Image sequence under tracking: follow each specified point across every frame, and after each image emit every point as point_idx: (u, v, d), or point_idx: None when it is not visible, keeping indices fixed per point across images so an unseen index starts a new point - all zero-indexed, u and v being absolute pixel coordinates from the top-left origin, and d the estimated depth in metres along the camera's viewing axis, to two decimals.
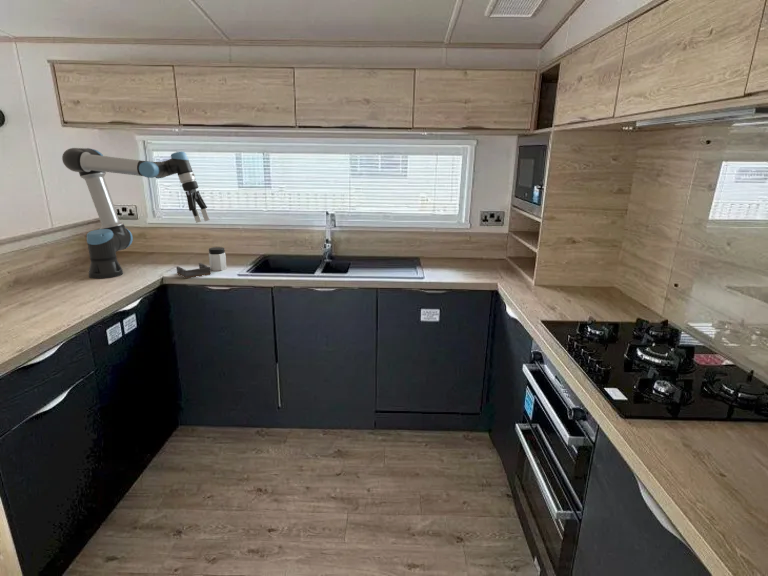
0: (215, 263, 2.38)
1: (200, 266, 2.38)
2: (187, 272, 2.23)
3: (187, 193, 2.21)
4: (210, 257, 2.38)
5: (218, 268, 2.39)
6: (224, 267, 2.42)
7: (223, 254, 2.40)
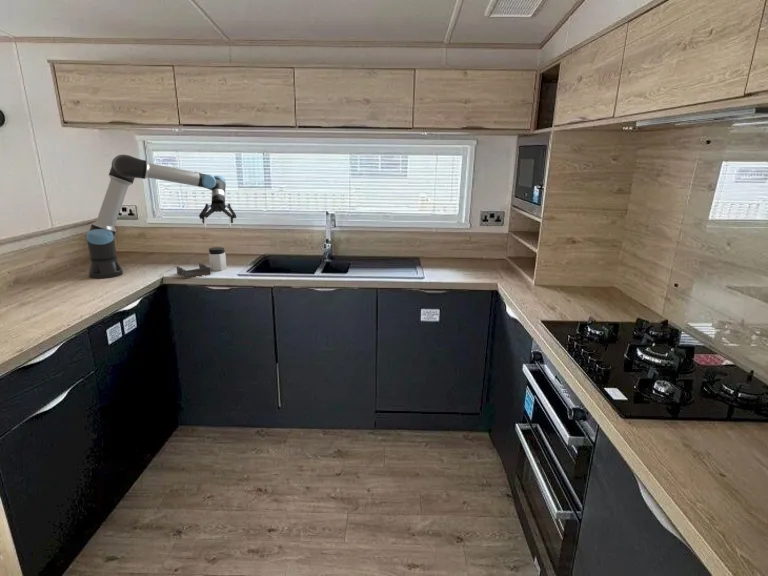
0: (215, 263, 2.38)
1: (200, 266, 2.38)
2: (187, 272, 2.23)
3: None
4: (210, 257, 2.38)
5: (218, 268, 2.39)
6: (224, 267, 2.42)
7: (223, 254, 2.40)
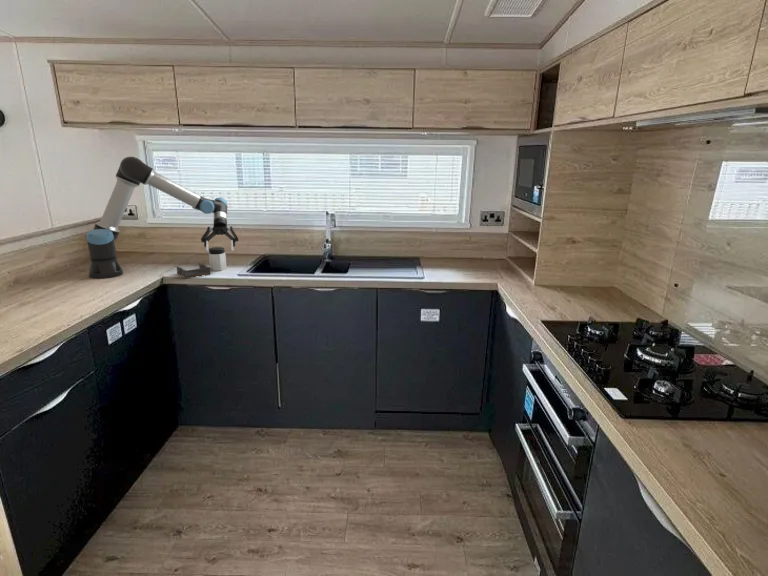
0: (215, 263, 2.38)
1: (200, 266, 2.38)
2: (187, 272, 2.23)
3: (232, 228, 2.53)
4: (210, 257, 2.38)
5: (218, 268, 2.39)
6: (224, 267, 2.42)
7: (223, 254, 2.40)
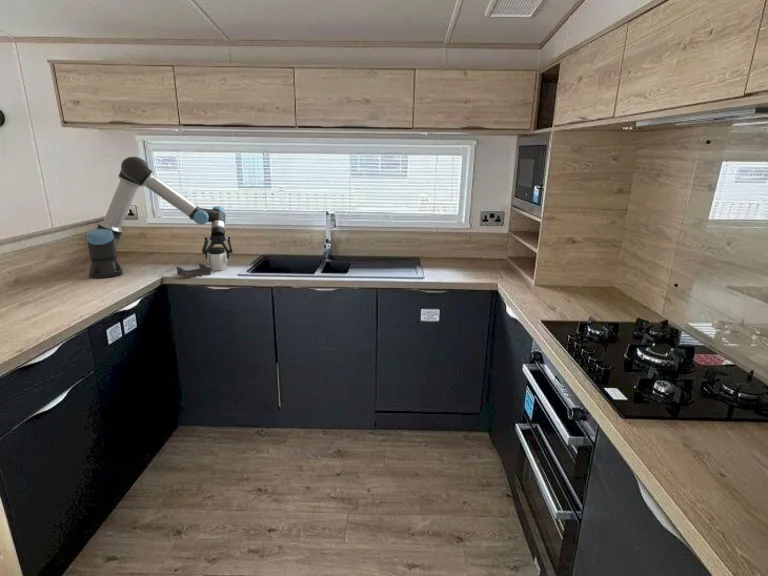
0: (215, 263, 2.38)
1: (200, 266, 2.38)
2: (187, 272, 2.23)
3: (230, 239, 2.48)
4: (210, 257, 2.38)
5: (218, 268, 2.39)
6: (224, 267, 2.42)
7: (223, 254, 2.40)
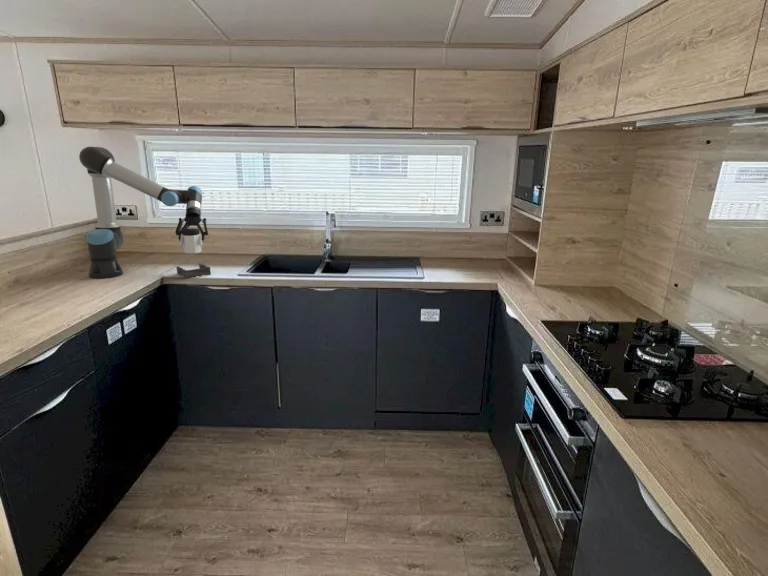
0: (189, 245, 2.25)
1: (200, 266, 2.38)
2: (187, 272, 2.23)
3: (205, 220, 2.34)
4: (183, 239, 2.25)
5: (192, 250, 2.26)
6: (199, 250, 2.29)
7: (197, 236, 2.27)
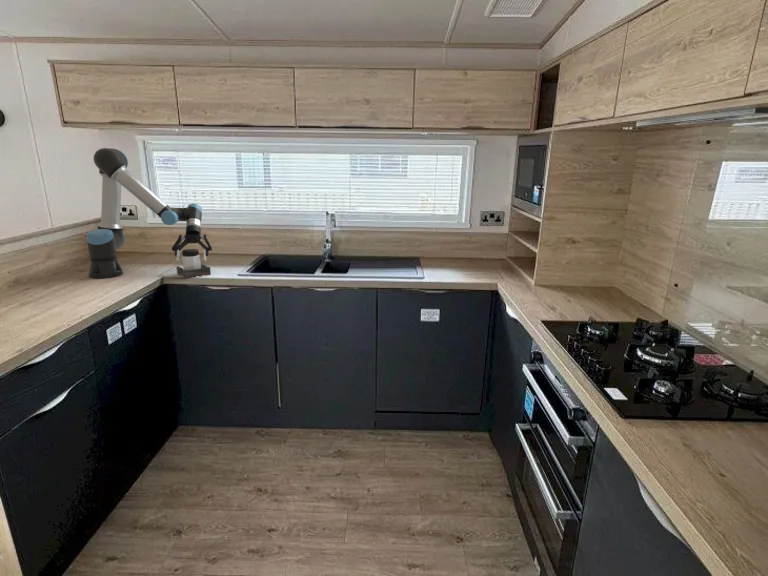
0: (188, 266, 2.27)
1: None
2: (187, 272, 2.23)
3: None
4: (183, 259, 2.27)
5: None
6: None
7: (197, 256, 2.29)
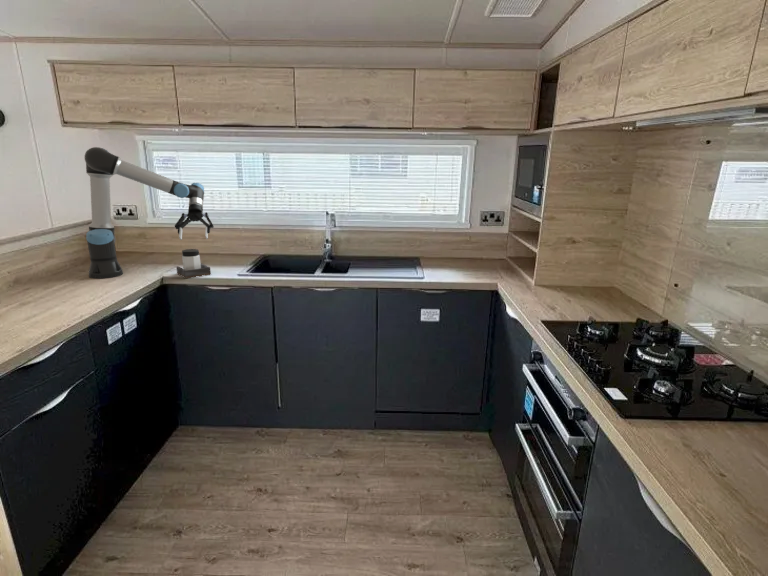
0: (188, 266, 2.27)
1: None
2: (187, 272, 2.23)
3: (207, 214, 2.45)
4: (183, 259, 2.27)
5: None
6: None
7: (197, 256, 2.29)
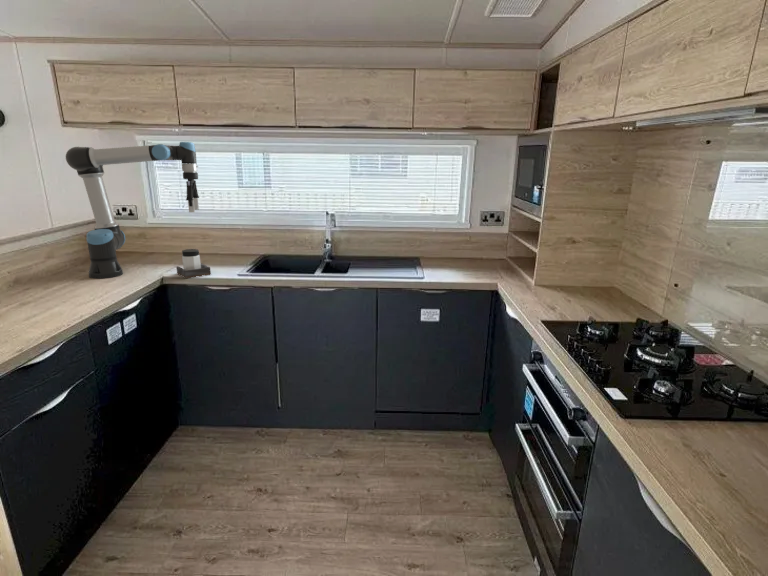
0: (188, 266, 2.27)
1: None
2: (187, 272, 2.23)
3: (188, 183, 2.30)
4: (183, 259, 2.27)
5: None
6: None
7: (197, 256, 2.29)
